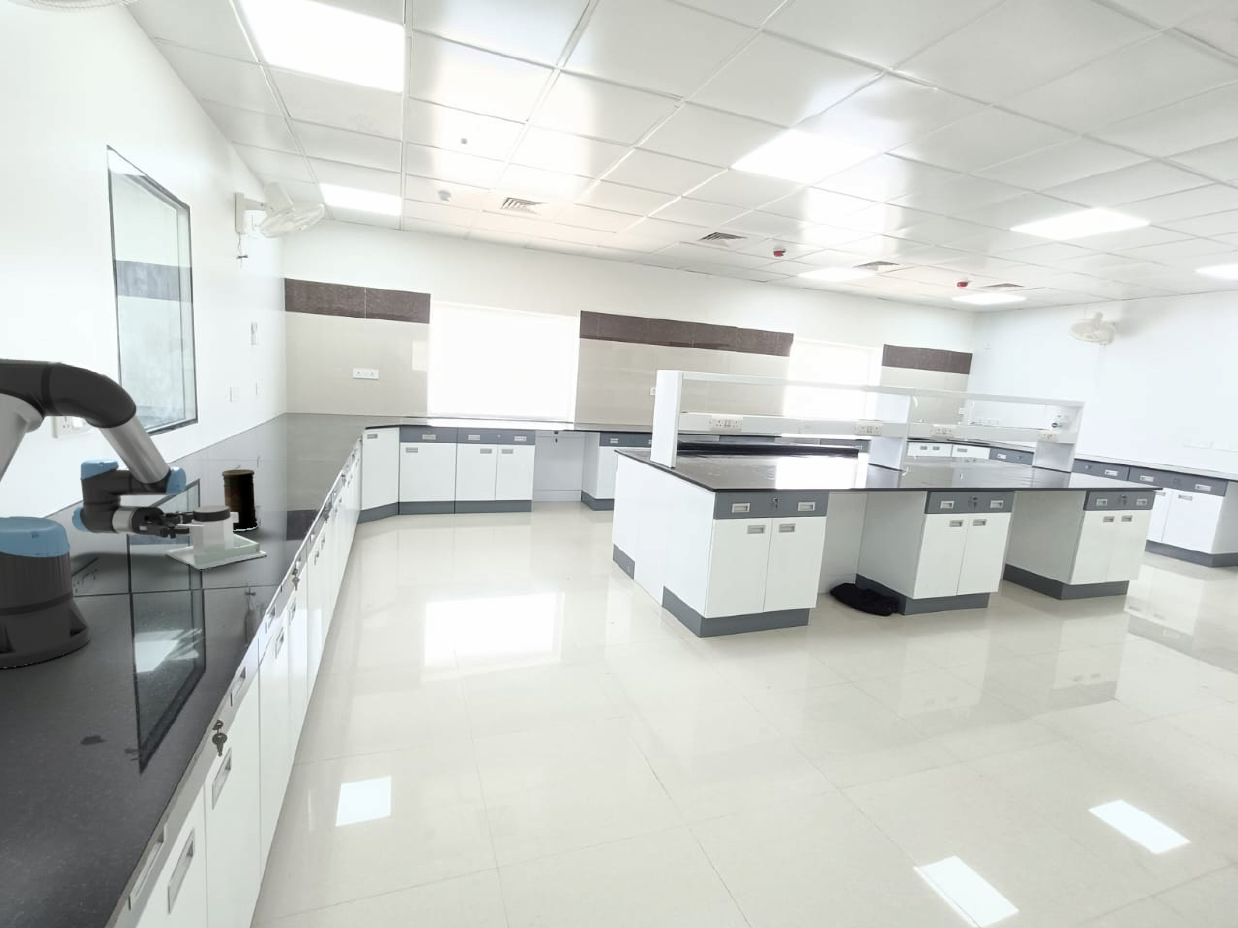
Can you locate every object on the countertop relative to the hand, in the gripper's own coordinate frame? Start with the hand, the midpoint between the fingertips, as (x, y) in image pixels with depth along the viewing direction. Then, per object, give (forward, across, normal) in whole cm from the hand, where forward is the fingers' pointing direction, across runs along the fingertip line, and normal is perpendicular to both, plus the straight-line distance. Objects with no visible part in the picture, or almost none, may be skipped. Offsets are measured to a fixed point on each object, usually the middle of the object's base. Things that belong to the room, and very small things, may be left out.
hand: (221, 523), depth 157 cm
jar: (-2, 0, -8) cm, 8 cm away
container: (-11, -26, -9) cm, 29 cm away
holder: (-2, 0, -9) cm, 9 cm away
